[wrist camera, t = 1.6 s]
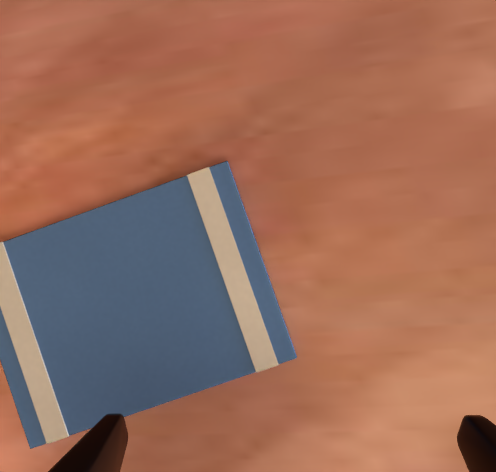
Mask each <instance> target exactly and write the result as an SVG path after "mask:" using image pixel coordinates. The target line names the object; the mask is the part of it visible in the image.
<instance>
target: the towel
mask: <svg viewBox="0 0 496 472" xmlns="http://www.w3.org/2000/svg"><path fill="white" fill-rule="evenodd" d="M295 358H297V356H296V353H295V350H294V347H293V345H292V342H291V339H290V336H289V333H288V330H287V328H286V325H285V322H284V319H283V316H282V313H281V311H280V308H279V305H278V302H277V299H276V297H275V294H274V291H273V288H272V285H271V282H270V280H269V277H268V274H267V271H266V268H265V265H264V263H263V260H262V257H261V254H260V251H259V248H258V246H257V243H256V240H255V237H254V234H253V232H252V229H251V226H250V223H249V220H248V217H247V215H246V212H245V209H244V206H243V203H242V200H241V198H240V195H239V192H238V189H237V186H236V183H235V181H234V178H233V175H232V172H231V169H230V167H229V164H228V161H225V162H223V163H220V164H217V165H214V166H212V167H207V168H204V169H202V170H199V171H196V172H193V173H191V174H188V175H187V176H184V177H181V178H178V179H176V180H173V181H170V182H167V183H165V184H162V185H159V186H156V187H154V188H151V189H148V190H145V191H142V192H140V193H137V194H134V195H131V196H129V197H126V198H123V199H120V200H118V201H115V202H112V203H109V204H107V205H104V206H101V207H98V208H95V209H93V210H90V211H87V212H84V213H82V214H79V215H76V216H73V217H71V218H68V219H65V220H62V221H60V222H57V223H54V224H51V225H48V226H46V227H43V228H40V229H37V230H35V231H32V232H29V233H26V234H24V235H21V236H18V237H15V238H13V239H10V240H7V241H4V242H0V361H1V364H2V366H3V369H4V372H5V375H6V378H7V381H8V384H9V387H10V390H11V393H12V396H13V399H14V402H15V405H16V408H17V411H18V414H19V417H20V420H21V423H22V426H23V428H24V431H25V434H26V437H27V440H28V443H29V446H30V449H31V448H34V447H37V446H40V445H43V444H46V443H47V444H49V443H52V442H55V441H58V440H60V439H63V438H66V437H69V436H70V435H72V434H75V433H78V432H81V431H84V430H87V429H90V428H93V427H94V426H95V425H96V424H97V423H98V422H99V421H100V420H101V419H102V418H103V417H104V416H105V415H107V414H109V413H120V414H122V415H123V416H124V417H125V416H128V415H131V414H134V413H137V412H140V411H143V410H146V409H149V408H152V407H155V406H157V405H160V404H163V403H166V402H169V401H172V400H175V399H178V398H181V397H184V396H187V395H190V394H193V393H196V392H198V391H201V390H204V389H207V388H210V387H213V386H216V385H219V384H222V383H225V382H228V381H231V380H234V379H237V378H240V377H242V376H245V375H248V374H251V373H254V372H256V373H257V372H260V371H263V370H266V369H269V368H272V367H275V366H277V365H279V364H281V363H283V362H286V361H289V360H292V359H295Z"/></svg>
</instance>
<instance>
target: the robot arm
mask: <svg viewBox="0 0 496 472" xmlns="http://www.w3.org/2000/svg"><path fill="white" fill-rule="evenodd" d="M127 442H128V432H127V428H126V424H125V420H124V416H123V415H122V414H120V413H109V414H107V415H105V416H104V417H103V418H102V419H101V420H100V421H99V422H98V423H97V424H96V425H95V426H94V427H93V428H92V429H91V430H90V431H89V432H88V433H87V434H86V435H85V436H84V437H83V438H82V439H81V440H80V441H79V442H78V443H77V444H76V445H75V446H74V447H73V448H72V449H71V450H70V451H69V452H68V453H67V454H65V455H64V456H63V457H62V458H61V459H60V460H59V461H58V462H57V463H56V464H55V465H54V466H53V467H52V468H51V469H50V470H49V471H48V472H120V469H121V465H122V462H123V458H124V454H125V450H126V446H127ZM457 442H458V446H459V449H460V451H461V453H462V456H463V458H464V460H465V463H466V465H467V467H468V470H469V472H496V425H495V424H493V423H492V422H491V421H489V420H488V419H486V418H485V417H483V416H480V415H466V416H464V418H463V420H462V423H461V426H460V429H459V432H458V435H457Z"/></svg>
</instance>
